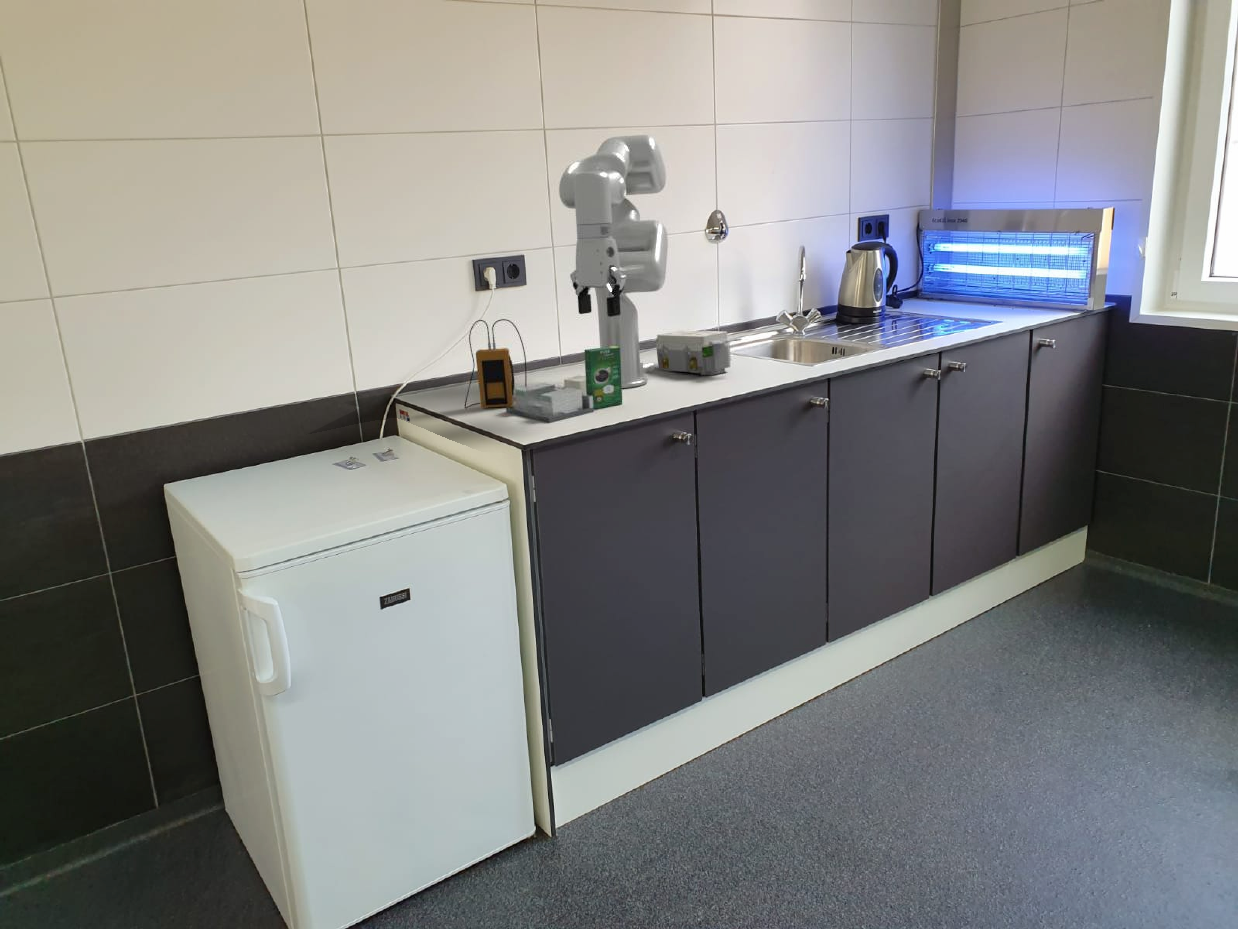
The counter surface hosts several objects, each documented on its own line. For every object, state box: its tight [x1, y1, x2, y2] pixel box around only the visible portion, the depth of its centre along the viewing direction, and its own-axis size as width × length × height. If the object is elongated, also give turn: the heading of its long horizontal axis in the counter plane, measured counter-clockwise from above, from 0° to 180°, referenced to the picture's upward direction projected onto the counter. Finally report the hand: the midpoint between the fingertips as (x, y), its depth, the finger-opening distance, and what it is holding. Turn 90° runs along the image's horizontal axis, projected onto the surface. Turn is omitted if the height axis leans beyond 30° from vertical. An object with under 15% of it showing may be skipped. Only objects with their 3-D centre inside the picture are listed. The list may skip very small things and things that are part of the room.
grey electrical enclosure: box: [645, 330, 742, 376], centre depth 236 cm, size 12×28×10 cm, turn 38°
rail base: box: [505, 382, 595, 424], centre depth 202 cm, size 12×16×5 cm
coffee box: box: [584, 346, 623, 410], centre depth 203 cm, size 8×3×13 cm, turn 122°
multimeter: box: [464, 318, 527, 410], centre depth 211 cm, size 15×10×20 cm
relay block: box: [563, 375, 587, 395], centre depth 212 cm, size 5×5×5 cm
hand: (599, 314), depth 198 cm, fingers open, 9 cm apart
